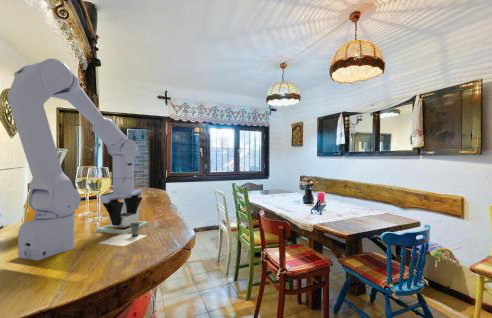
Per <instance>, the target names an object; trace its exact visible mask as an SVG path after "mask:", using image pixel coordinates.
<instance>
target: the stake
mask: <svg viewBox="0 0 492 318" xmlns="http://www.w3.org/2000/svg"><path fill="white" fill-rule="evenodd" d="M139 225H140V223H131V225H130V226H131V227H130V228H131V230H132V231H131V234H132V237H137V236H139V235H140V228H139Z"/></svg>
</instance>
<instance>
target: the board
mask: <svg viewBox="0 0 492 318" xmlns="http://www.w3.org/2000/svg"><path fill="white" fill-rule="evenodd" d="M145 237H147V234H146V235H145V234H144V235H143V234H139V236H137V237H132V233H126V234H117V235H115V236H112V237H109V238H108V239H105V240H102V241H100V242H98V244H99V245H108V246H109V245H110V246H118V247H126V246H129V245H130V244H132V243H134V242H137V241H139V240H141V239H143V238H145Z"/></svg>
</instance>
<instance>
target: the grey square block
mask: <svg viewBox="0 0 492 318" xmlns="http://www.w3.org/2000/svg"><path fill="white" fill-rule="evenodd" d="M108 216H109V215H108ZM108 221H109V224H110V226H112V227H111V228H114V227H115V228H128V227H130V226H131V223H138V221H139V219H138V213H128V212H123V213H121V220H120V225H118V226H116V225H112V222H111V218H110V216H109V220H108Z"/></svg>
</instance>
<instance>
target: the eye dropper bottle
mask: <svg viewBox="0 0 492 318" xmlns="http://www.w3.org/2000/svg"><path fill="white" fill-rule="evenodd" d="M120 202H124V204H123V206H122V210H121V213H123V212H127V209H126V204H125V201H124V199H121V201H120ZM136 213H138V220H139V219H140V205H139V206H138V208H137V212H136Z"/></svg>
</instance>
